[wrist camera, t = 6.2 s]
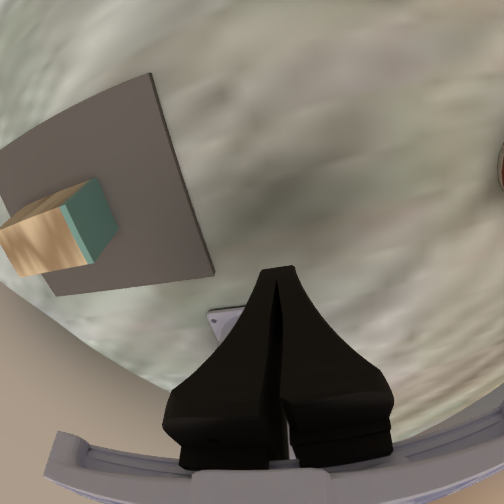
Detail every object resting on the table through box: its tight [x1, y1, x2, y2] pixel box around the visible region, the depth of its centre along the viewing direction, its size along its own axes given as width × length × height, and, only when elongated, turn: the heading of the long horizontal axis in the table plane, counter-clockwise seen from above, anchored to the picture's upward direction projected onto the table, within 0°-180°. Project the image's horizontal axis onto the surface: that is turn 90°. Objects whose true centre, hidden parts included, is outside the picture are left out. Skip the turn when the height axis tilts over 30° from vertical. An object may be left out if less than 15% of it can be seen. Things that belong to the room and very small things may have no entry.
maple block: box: [0, 177, 118, 277], centre depth 20 cm, size 4×4×9 cm
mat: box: [0, 73, 215, 297], centre depth 22 cm, size 16×18×1 cm
